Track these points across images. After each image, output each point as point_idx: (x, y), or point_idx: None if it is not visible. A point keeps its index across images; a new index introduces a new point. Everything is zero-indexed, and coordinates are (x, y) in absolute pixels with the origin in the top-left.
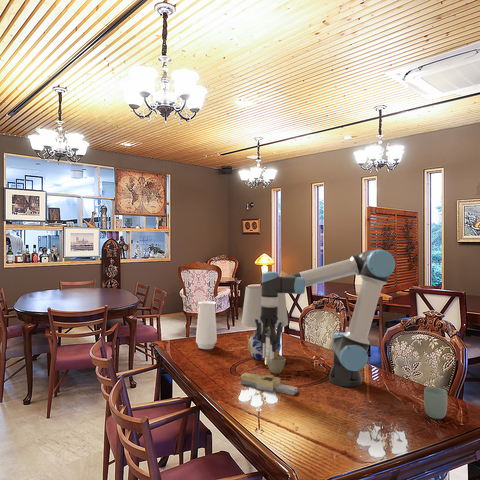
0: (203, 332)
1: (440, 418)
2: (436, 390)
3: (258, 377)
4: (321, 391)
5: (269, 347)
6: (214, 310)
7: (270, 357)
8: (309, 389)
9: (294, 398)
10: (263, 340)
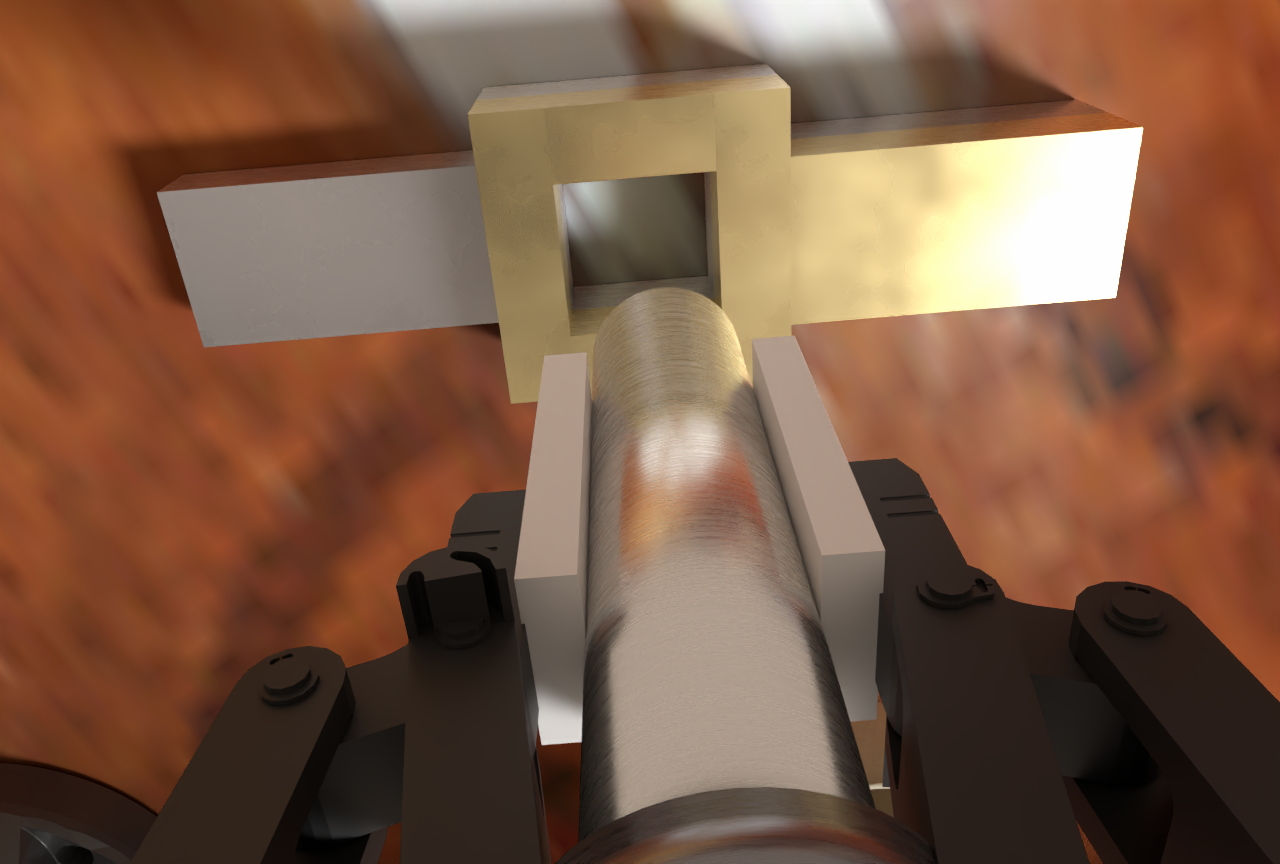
0: None
1: None
2: None
3: (818, 218)
4: (14, 511)
5: (615, 523)
6: None
7: (571, 374)
8: (166, 486)
9: (99, 73)
10: (901, 643)
